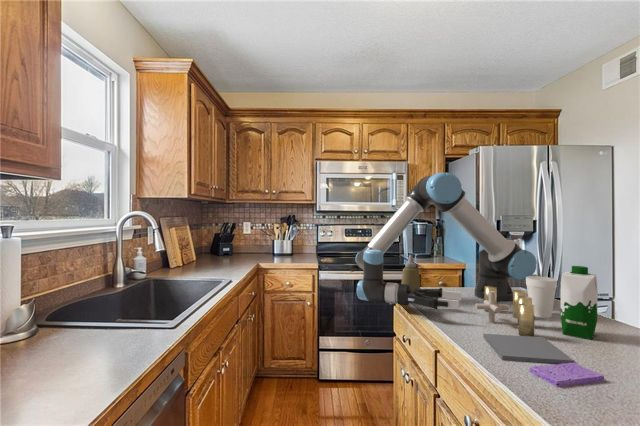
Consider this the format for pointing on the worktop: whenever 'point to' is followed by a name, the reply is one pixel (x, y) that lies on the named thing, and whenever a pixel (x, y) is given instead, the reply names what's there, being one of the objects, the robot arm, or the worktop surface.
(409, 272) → the squeeze bottle
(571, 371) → the sponges
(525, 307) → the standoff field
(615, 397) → the worktop surface
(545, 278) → the foam cup
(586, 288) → the milk carton
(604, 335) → the worktop surface
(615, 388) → the worktop surface
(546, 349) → the rubber mat
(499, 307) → the pipe connector
